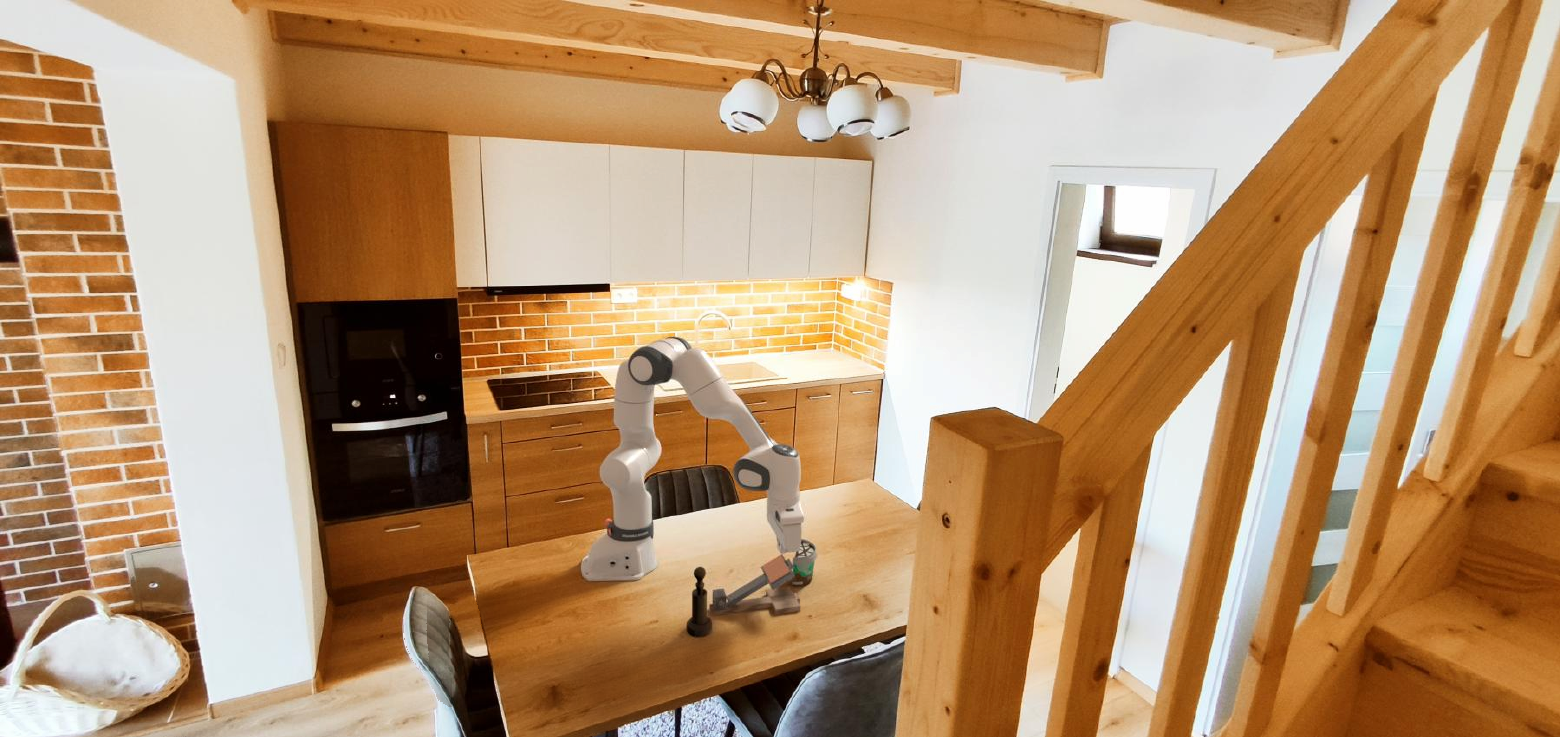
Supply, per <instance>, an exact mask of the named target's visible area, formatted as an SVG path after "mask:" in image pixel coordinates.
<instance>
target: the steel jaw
mask: <svg viewBox="0 0 1560 737" xmlns="http://www.w3.org/2000/svg"><path fill="white" fill-rule="evenodd" d="M760 568H761V571H762V574H761V575H758V576H757V577H755V578H754V579H753V580H751V581H750V582H748V583H746V584H744V585H743V586H741V587H739V588H738V589H736V590H735V591H733V592H731V593H729V594H728V595H726V596H727V602H728V603H729V605H730V606H733V605H734V604H736V603H737V602H739V601H741V600H745V599H747V597H749V596H750V595H752V594H754V593H756V592H757V591H758V590H760V589H762V588H763V587H766V586H767V585H769V586H770V589H772V590H774V589H776V588H780V586H781V585H783V584H785V583H786V582H788V581H790V580H793V577H795V575H794V573H793V568H794V566H793V562H792V561H791V559H790V558H786V559H785V556H784V555H783V554H781V553H780V555H777V557H774V558H773V559H771V560H769V561H768V562H766V563H764V564H763V565H761V567H760Z"/></svg>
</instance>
